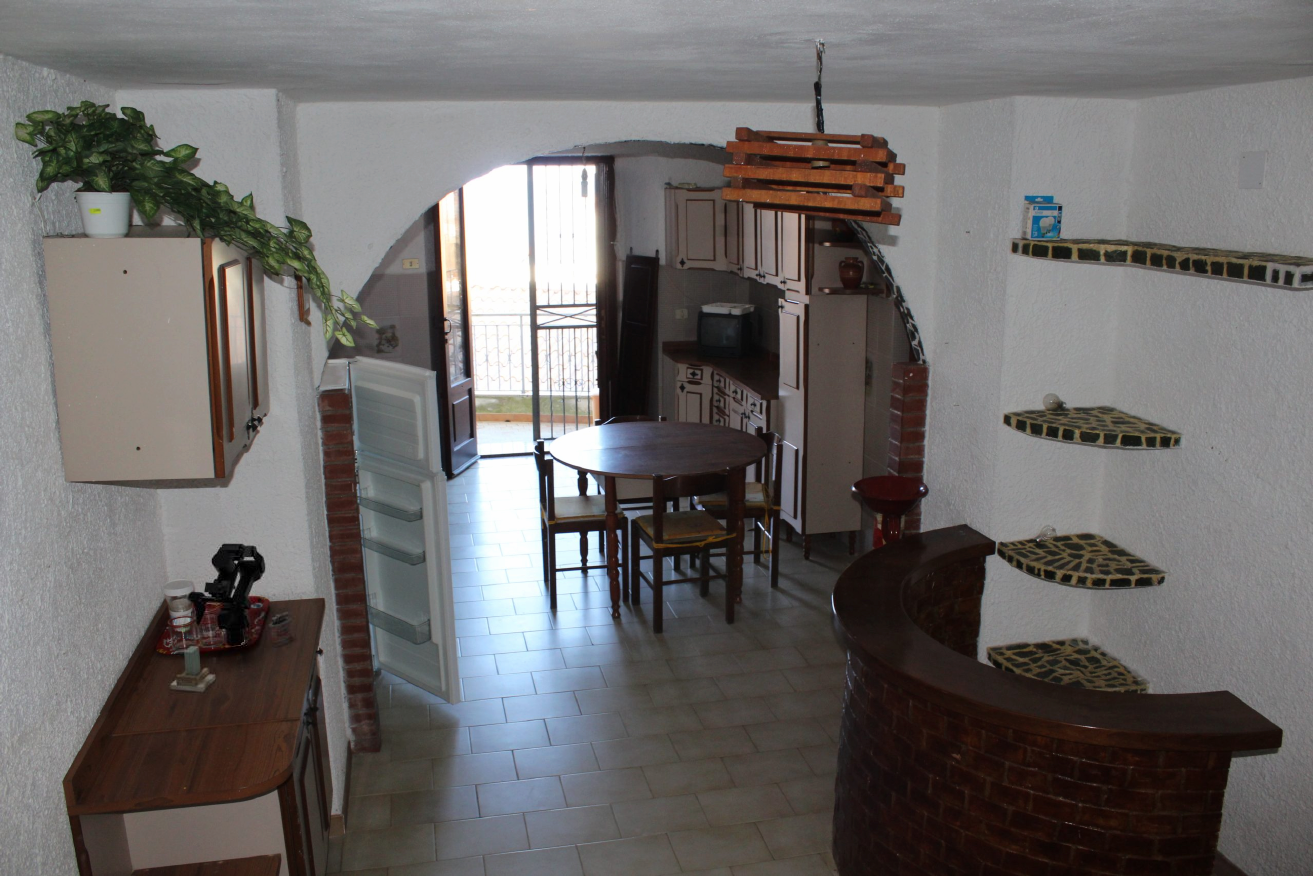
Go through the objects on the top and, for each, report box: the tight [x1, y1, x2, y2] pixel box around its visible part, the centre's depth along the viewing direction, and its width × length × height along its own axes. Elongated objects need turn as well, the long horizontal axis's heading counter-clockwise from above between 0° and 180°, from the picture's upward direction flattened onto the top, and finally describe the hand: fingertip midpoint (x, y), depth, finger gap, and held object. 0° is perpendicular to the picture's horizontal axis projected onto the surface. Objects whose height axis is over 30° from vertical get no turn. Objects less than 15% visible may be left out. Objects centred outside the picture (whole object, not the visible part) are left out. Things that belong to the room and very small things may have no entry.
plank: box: [183, 645, 202, 676], centre depth 309 cm, size 4×2×10 cm, turn 176°
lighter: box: [268, 611, 293, 648], centre depth 338 cm, size 8×3×10 cm, turn 146°
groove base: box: [169, 667, 216, 693], centre depth 309 cm, size 8×10×4 cm
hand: (211, 626), depth 318 cm, fingers open, 9 cm apart
